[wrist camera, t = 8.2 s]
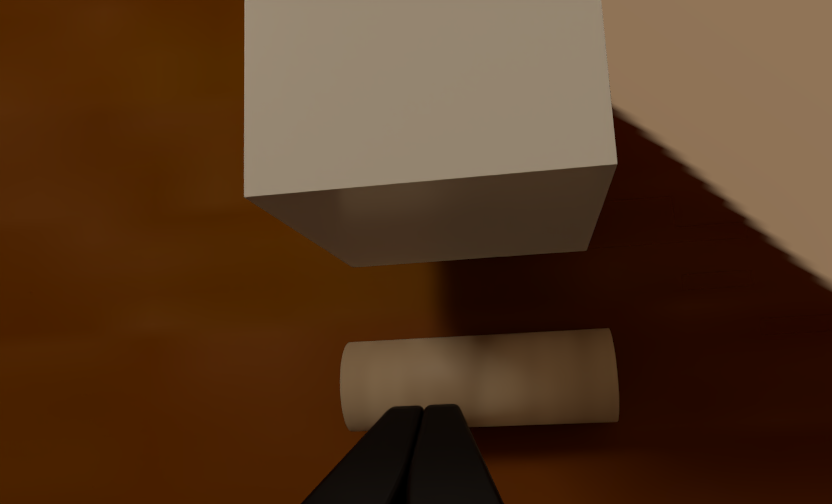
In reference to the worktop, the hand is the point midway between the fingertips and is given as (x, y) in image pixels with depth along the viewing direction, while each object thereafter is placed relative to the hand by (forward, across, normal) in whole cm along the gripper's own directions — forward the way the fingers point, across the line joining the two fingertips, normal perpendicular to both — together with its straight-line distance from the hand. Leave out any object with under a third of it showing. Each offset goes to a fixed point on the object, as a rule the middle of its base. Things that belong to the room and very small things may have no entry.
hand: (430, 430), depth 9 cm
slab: (+9, 0, 0) cm, 9 cm away
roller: (+5, 0, -5) cm, 7 cm away
